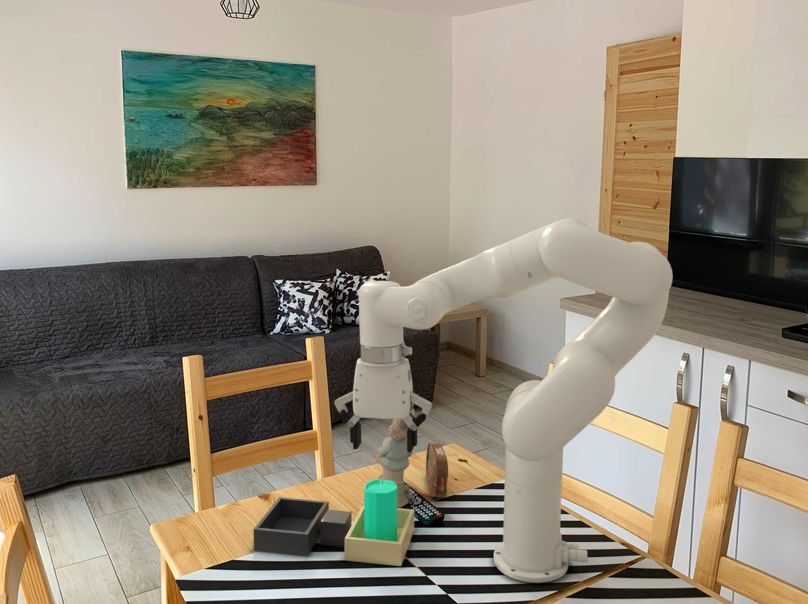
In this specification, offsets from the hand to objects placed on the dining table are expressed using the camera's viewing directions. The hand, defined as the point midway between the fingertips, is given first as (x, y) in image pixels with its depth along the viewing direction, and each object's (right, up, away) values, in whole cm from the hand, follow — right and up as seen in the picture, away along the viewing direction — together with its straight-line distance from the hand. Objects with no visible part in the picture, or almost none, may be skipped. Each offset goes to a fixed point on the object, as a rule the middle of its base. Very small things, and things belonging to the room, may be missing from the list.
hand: (383, 448), depth 125 cm
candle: (-1, -18, +2) cm, 18 cm away
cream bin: (-1, -18, +2) cm, 18 cm away
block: (-9, -18, +4) cm, 20 cm away
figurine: (+1, -16, +19) cm, 25 cm away
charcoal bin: (-17, -17, +5) cm, 25 cm away
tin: (+10, -15, +25) cm, 31 cm away
